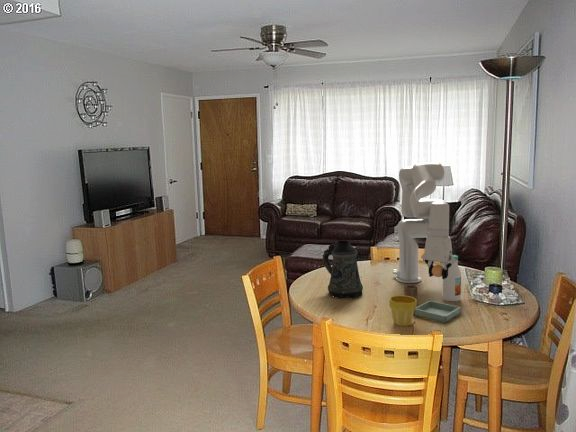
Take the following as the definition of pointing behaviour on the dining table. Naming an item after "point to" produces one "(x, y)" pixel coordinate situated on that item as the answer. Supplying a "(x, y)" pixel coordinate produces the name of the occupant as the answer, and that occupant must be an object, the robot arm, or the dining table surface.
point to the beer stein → (343, 270)
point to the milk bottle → (452, 283)
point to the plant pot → (402, 309)
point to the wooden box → (410, 291)
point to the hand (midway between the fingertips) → (438, 276)
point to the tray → (437, 311)
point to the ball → (437, 270)
